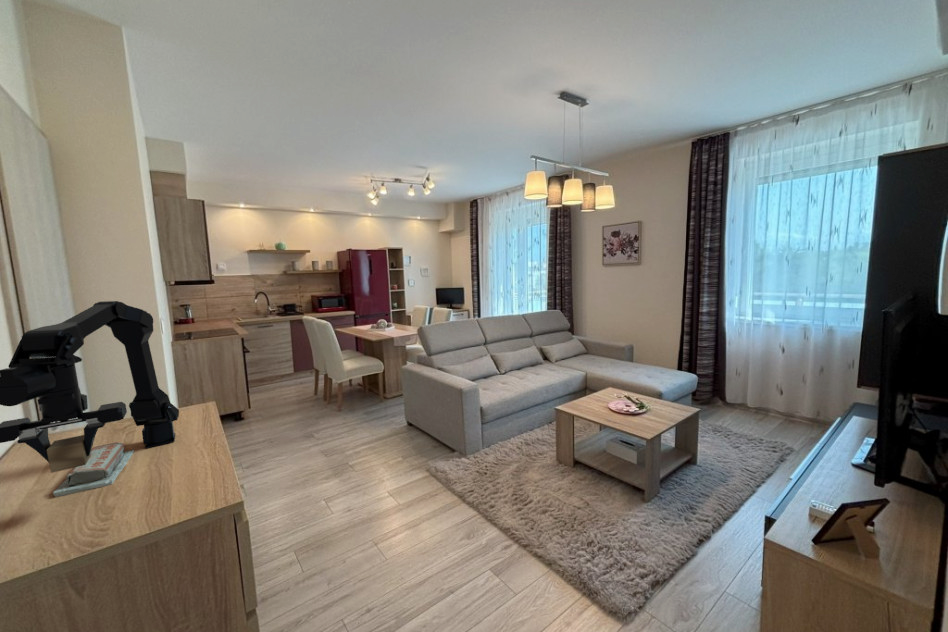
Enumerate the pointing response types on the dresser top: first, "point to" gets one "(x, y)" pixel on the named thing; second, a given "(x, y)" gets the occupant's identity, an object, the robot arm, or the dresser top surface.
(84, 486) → the packaged product
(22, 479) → the dresser top surface
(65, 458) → the walnut block
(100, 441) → the dresser top surface
